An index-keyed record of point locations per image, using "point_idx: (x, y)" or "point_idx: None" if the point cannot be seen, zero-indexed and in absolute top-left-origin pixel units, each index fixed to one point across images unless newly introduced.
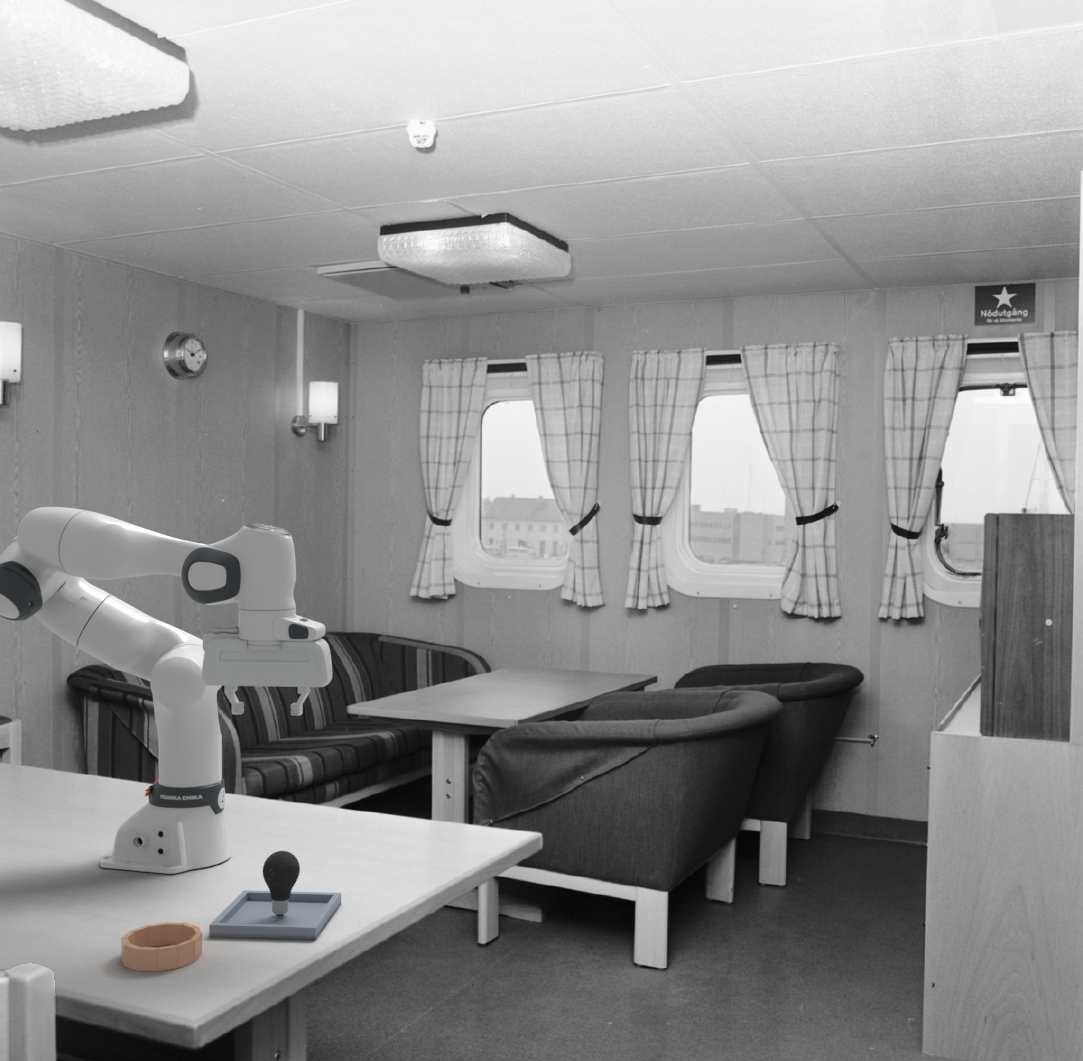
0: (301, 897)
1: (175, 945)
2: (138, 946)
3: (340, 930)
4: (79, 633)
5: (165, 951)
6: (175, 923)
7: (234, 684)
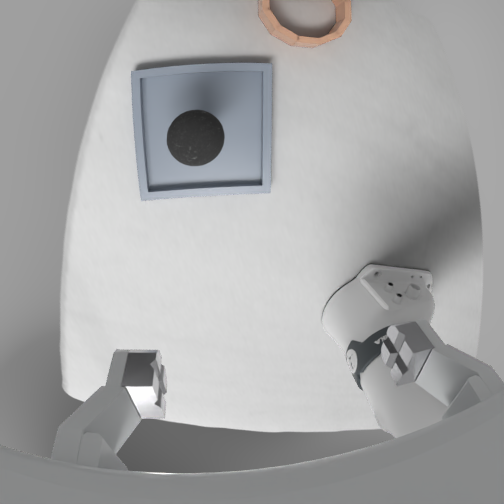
0: (190, 187)
1: None
2: None
3: (115, 108)
4: None
5: None
6: (308, 40)
7: (489, 402)
